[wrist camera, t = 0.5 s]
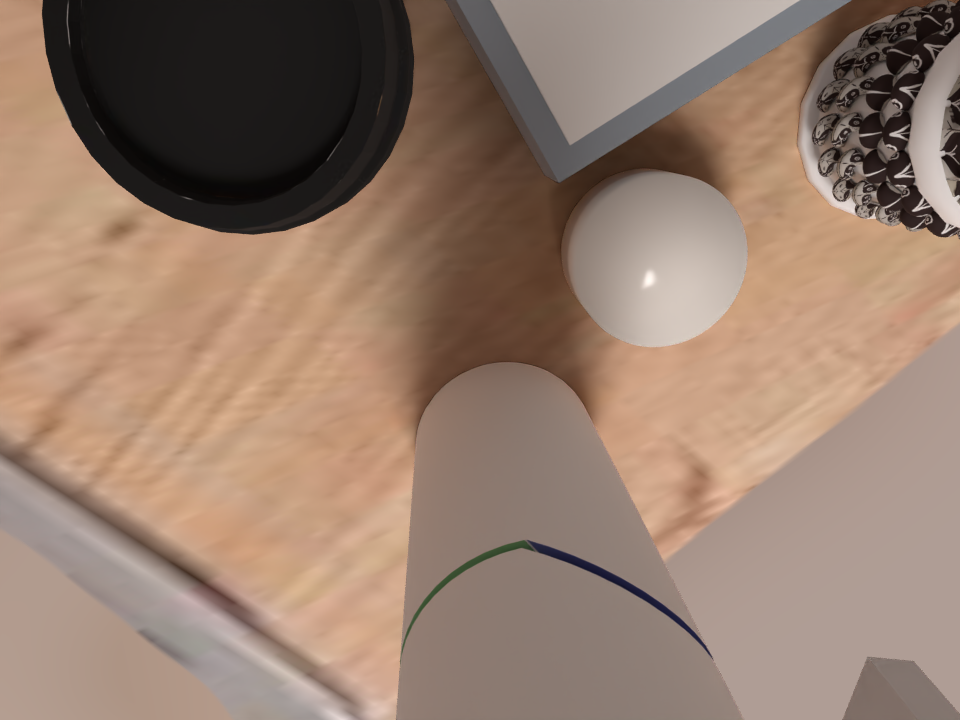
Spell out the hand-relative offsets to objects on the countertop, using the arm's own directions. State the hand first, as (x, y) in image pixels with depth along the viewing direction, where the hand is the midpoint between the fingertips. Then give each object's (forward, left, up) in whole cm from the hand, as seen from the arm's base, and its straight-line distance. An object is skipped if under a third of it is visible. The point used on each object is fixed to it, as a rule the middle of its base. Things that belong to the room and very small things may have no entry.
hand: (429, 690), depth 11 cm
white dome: (+3, +9, -23) cm, 25 cm away
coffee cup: (-10, +1, -24) cm, 26 cm away
